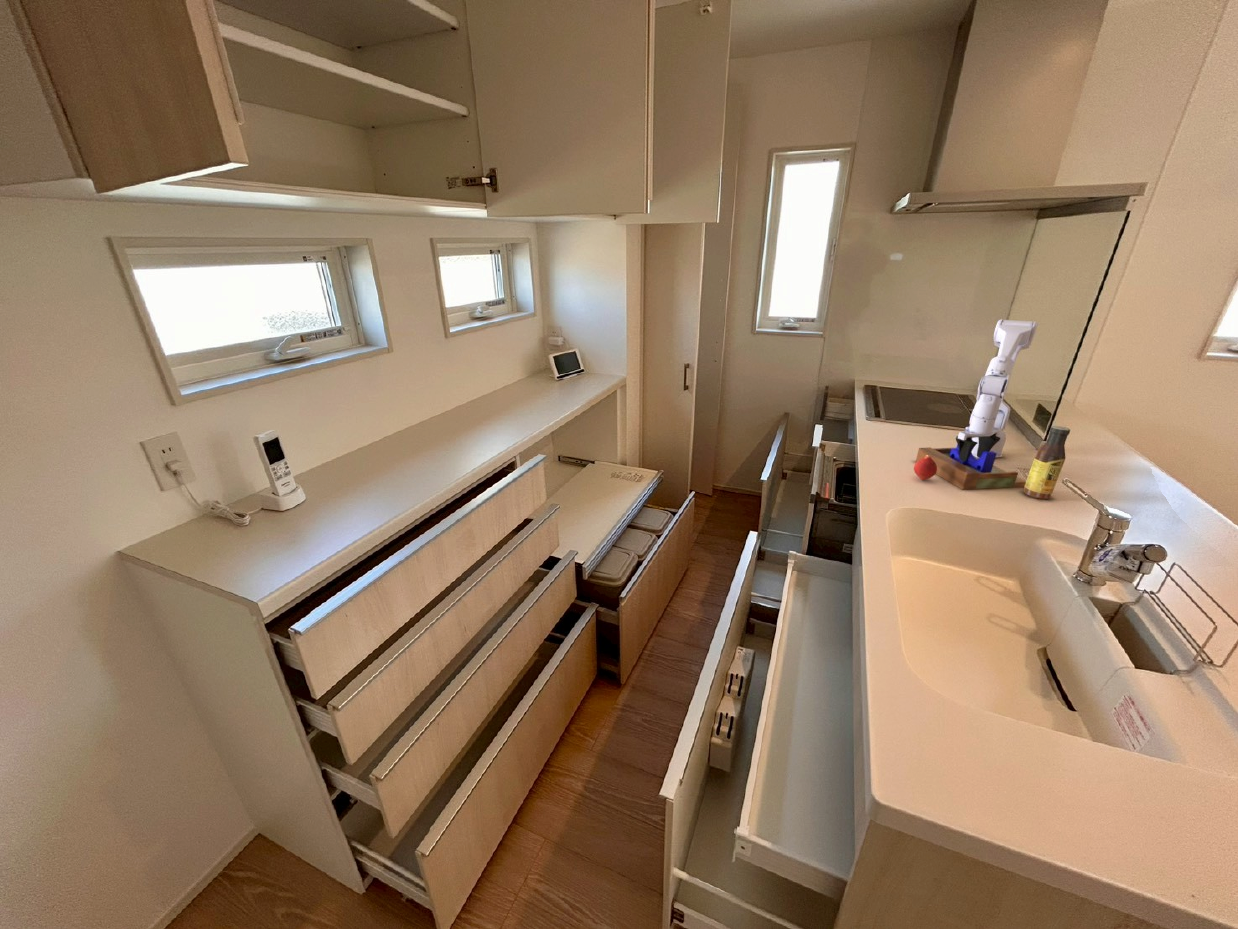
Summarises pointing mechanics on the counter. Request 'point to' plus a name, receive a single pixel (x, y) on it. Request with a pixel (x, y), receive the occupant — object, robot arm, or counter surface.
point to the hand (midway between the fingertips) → (971, 459)
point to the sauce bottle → (1047, 464)
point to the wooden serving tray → (968, 472)
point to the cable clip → (981, 464)
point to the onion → (925, 468)
